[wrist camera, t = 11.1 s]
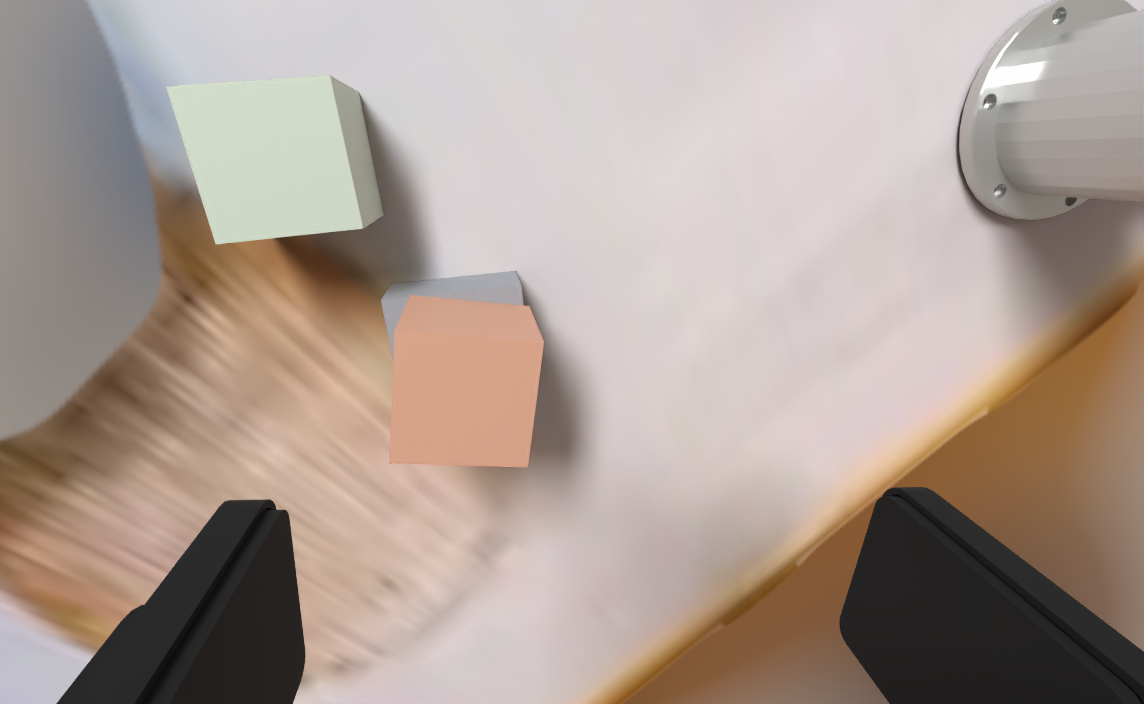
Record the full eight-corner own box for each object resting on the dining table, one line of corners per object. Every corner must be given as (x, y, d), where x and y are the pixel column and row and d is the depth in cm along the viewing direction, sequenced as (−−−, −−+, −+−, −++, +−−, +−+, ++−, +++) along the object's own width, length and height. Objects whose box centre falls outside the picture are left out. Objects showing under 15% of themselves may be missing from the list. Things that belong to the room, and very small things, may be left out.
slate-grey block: (515, 270, 31) (521, 285, 28) (527, 380, 34) (534, 407, 30) (391, 282, 31) (381, 300, 27) (413, 395, 33) (405, 425, 29)
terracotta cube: (529, 305, 28) (544, 341, 23) (517, 410, 30) (528, 467, 25) (410, 295, 27) (394, 330, 21) (405, 404, 29) (389, 463, 23)
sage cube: (359, 92, 27) (329, 75, 21) (384, 215, 29) (363, 228, 24) (231, 101, 26) (166, 86, 21) (266, 227, 28) (215, 244, 23)
